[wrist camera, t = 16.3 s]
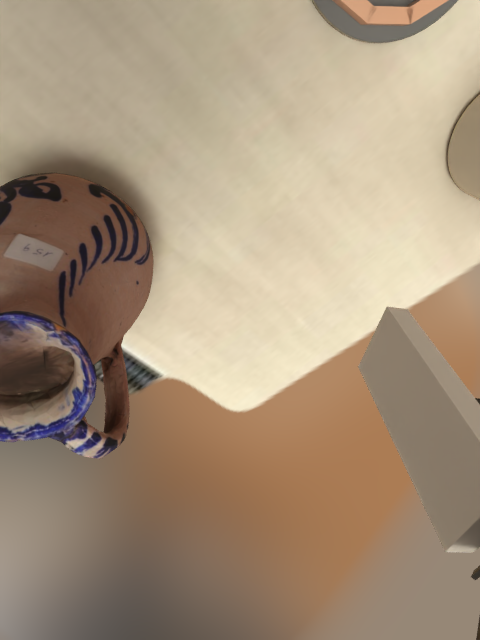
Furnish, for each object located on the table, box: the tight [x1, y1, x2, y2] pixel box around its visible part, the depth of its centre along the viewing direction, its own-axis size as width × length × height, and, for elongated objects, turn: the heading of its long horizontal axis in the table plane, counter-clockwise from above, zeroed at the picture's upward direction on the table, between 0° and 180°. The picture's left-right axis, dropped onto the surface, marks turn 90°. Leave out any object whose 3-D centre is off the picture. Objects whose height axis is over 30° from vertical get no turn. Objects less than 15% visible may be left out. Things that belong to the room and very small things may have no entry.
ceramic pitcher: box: [0, 173, 153, 459], centre depth 37 cm, size 18×21×25 cm
